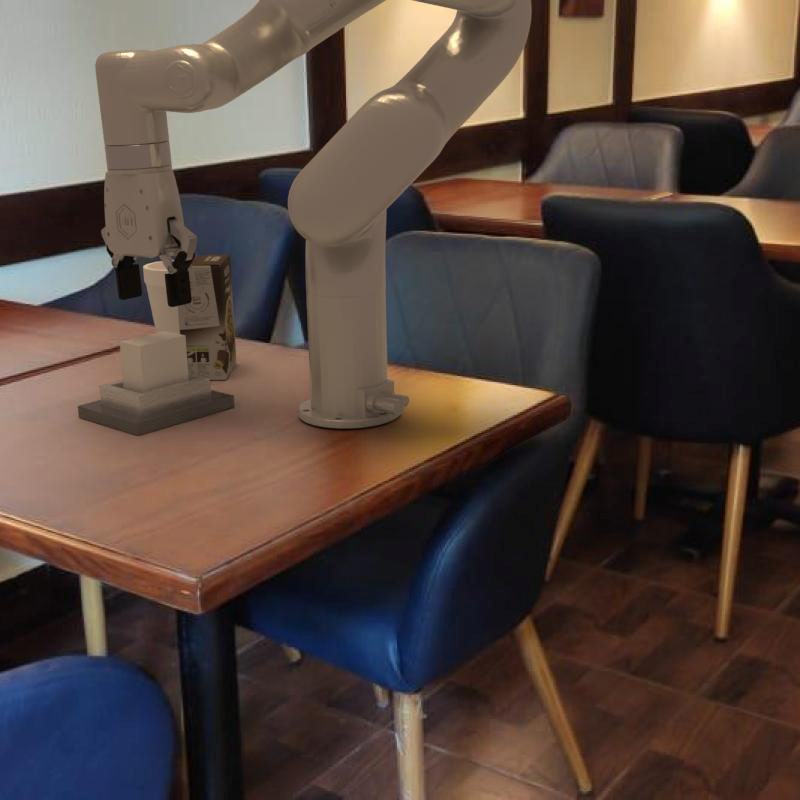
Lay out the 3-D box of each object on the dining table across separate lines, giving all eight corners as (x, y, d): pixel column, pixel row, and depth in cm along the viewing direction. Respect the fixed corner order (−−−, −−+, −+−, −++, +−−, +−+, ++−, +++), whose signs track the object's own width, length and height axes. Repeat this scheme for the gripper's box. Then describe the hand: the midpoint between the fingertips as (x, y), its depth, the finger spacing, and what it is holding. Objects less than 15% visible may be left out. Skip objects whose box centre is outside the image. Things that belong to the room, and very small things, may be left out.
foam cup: (183, 360, 176) (177, 272, 173) (137, 353, 181) (129, 267, 177) (225, 346, 184) (220, 262, 180) (179, 340, 189) (173, 258, 185)
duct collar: (234, 407, 152) (232, 376, 151) (137, 435, 142) (135, 403, 140) (174, 391, 160) (172, 362, 159) (78, 417, 149) (75, 386, 148)
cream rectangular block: (145, 409, 147) (139, 346, 144) (125, 404, 149) (119, 341, 147) (189, 397, 152) (185, 335, 149) (169, 392, 154) (165, 331, 152)
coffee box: (228, 380, 165) (221, 264, 160) (181, 381, 165) (173, 264, 161) (238, 364, 174) (231, 253, 169) (193, 364, 174) (186, 253, 169)
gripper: (69, 161, 145) (87, 300, 150) (158, 163, 134) (175, 314, 138) (121, 155, 150) (137, 290, 155) (210, 156, 139) (224, 302, 144)
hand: (154, 301), depth 147 cm, fingers open, 9 cm apart
